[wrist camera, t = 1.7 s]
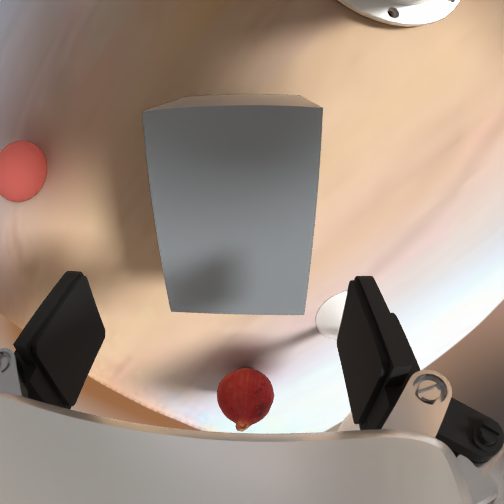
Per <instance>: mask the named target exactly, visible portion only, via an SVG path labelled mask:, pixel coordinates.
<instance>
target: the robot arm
mask: <svg viewBox="0 0 504 504" xmlns="http://www.w3.org/2000/svg"><path fill="white" fill-rule="evenodd" d="M338 1H339V2H341V3H342V4H343V5H345V6H346V7H348V8H350V9H352V10H353V11H355V12H357V13H359V14H360V15H363V16H365V17H368V18H370V19H373V20H375V21H378V22H382V23H386V24H390V25H395V26H405V27H410V26H422V25H426V24H431V23H434V22H437V21H439V20H441V19H444V18H445V17H446V16H448V15H449V14H450V13H451V12H453V10H454V9H455V8H456V7H457V5H458V3H459V1H460V0H338ZM388 12H390V13H391V15H392V17H390V16H389V15H388ZM104 338H105V328H104V326H103V323H102V320H101V318H100V315H99V312H98V309H97V307H96V304H95V301H94V298H93V295H92V292H91V289H90V286H89V283H88V280H87V277H86V276H84V275H83V273H82V272H77V271H67V272H66V273H65V274H64V275H63V276H62V278H61V279H60V280H59V282H58V283H57V284H56V285H55V287H54V288H53V289H52V291H51V292H50V293H49V295H48V296H47V297H46V299H45V300H44V301H43V303H42V304H41V305H40V307H39V308H38V309H37V311H36V312H35V314H34V315H33V316H32V318H31V319H30V321H29V322H28V323H27V325H26V326H25V328H24V329H23V331H22V332H21V334H20V335H19V337H18V338H17V340H16V341H15V343H14V344H13V345H14V347H15V349H16V351H15V352H14V353H13V352H12V351H11V350H10V349H7V348H3V349H0V504H504V433H503V430H502V428H501V427H500V425H499V424H498V423H497V422H496V421H494V420H493V419H491V418H489V417H487V416H485V415H484V414H481V413H480V412H478V411H476V410H474V409H472V408H470V407H468V406H467V405H465V404H463V403H461V402H459V401H457V400H455V399H453V398H452V397H451V395H452V389H451V385H450V383H449V382H448V380H447V379H446V378H445V377H444V376H443V375H441V374H440V373H438V372H436V371H432V370H421V371H420V368H419V366H418V363H417V361H416V359H415V356H414V354H413V352H412V349H411V347H410V345H409V342H408V340H407V338H406V336H405V333H404V331H403V329H402V327H401V324H400V322H399V320H398V318H397V316H396V315H395V314H394V313H390V311H389V309H388V307H387V305H386V303H385V301H384V298H383V296H382V294H381V292H380V290H379V288H378V286H377V284H376V282H375V280H374V278H373V276H356V277H355V280H351V281H350V282H349V286H348V291H347V296H346V301H345V306H344V310H343V315H342V319H341V323H340V328H339V332H338V336H337V348H338V352H339V356H340V361H341V365H342V369H343V374H344V379H345V383H346V388H347V393H348V397H349V402H350V407H351V412H352V417H353V422H354V424H359V428H360V430H353V431H337V432H320V433H290V434H248V433H223V432H208V431H195V430H184V429H175V428H166V427H159V426H151V425H145V424H138V423H132V422H126V421H120V420H115V419H110V418H105V417H100V416H96V415H91V414H87V413H82V412H78V411H74V410H70V408H71V406H74V405H75V403H76V401H77V398H78V396H79V394H80V391H81V389H82V387H83V385H84V382H85V380H86V378H87V375H88V373H89V371H90V369H91V366H92V364H93V362H94V360H95V358H96V356H97V353H98V351H99V349H100V347H101V345H102V343H103V341H104Z"/></svg>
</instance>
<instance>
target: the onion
mask: <svg viewBox="0 0 504 504" xmlns="http://www.w3.org/2000/svg"><path fill="white" fill-rule="evenodd" d="M273 399H274V392H273V387H272V385H271V382H270V381H269V379H268V378H267V377H266V376H265V375H263V374H262V373H261V372H259V371H257V370H254V369H250V368H248V367H243V368H241V369H237V370H235V371H233V372H231V373H229V374H227V375H226V376H225V377H224V378H223V380H222V381H221V382H220V383H219V386H218V390H217V400H218V404H219V407H220V408H221V410H222V412H223V413H224V415H225V416H226V417H227V418H228V419H230V420H231V421H233V422H235V423H236V429H237V430H238V431H244V430H246V429H247V428H248V427H249V426H251V425H252V424H255V423H257V422H259V421H260V420H261V419H263V418H264V417H265V416H266V415H267V413H268V412H269V410H270V407H271V405H272V403H273Z"/></svg>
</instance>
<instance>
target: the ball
mask: <svg viewBox="0 0 504 504" xmlns="http://www.w3.org/2000/svg"><path fill="white" fill-rule="evenodd" d="M46 174H47V162H46V159H45V156H44V154H43V152H42V151H41V149H40V148H39V147H38V146H37V145H35V144H34V143H31V142H28V141H16V142H14V143H11V144H9V145H8V146H6V147H5V148H4V149H3V150H2V151H1V152H0V195H1V196H2V197H4V198H5V199H7V200H9V201H13V202H22V201H26V200H28V199H30V198H32V197H33V196H34V195H36V194H37V193H38V191H39V190H40V189H41V187H42V186H43V184H44V181H45V179H46Z"/></svg>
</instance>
